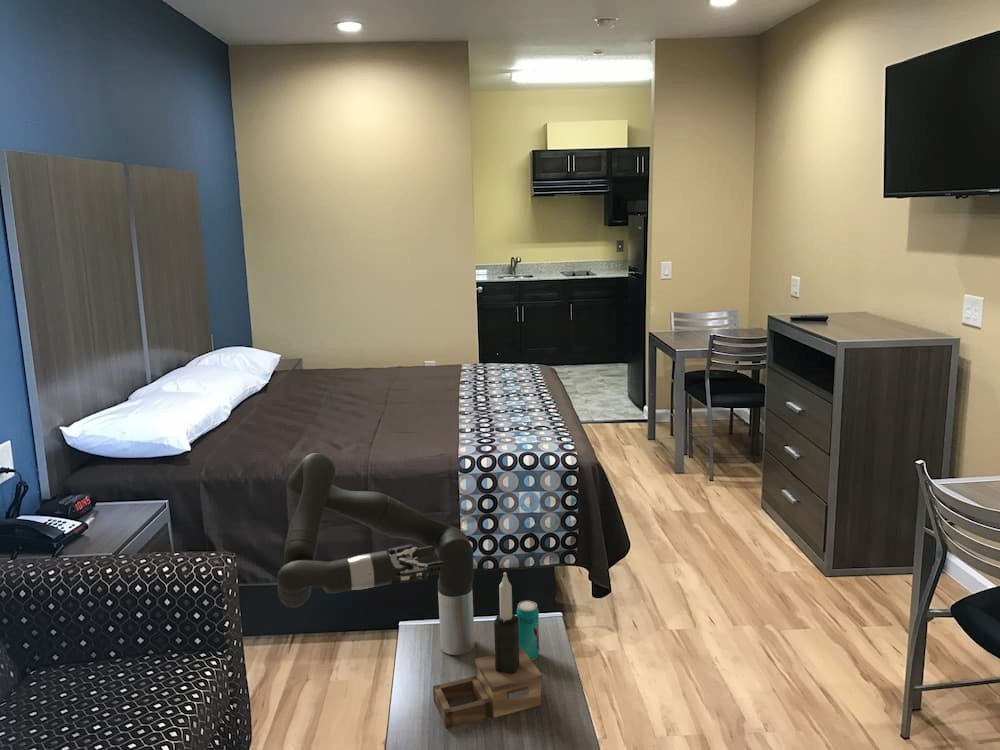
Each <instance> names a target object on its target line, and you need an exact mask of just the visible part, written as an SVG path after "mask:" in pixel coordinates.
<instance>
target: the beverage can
mask: <svg viewBox="0 0 1000 750" xmlns="http://www.w3.org/2000/svg"><path fill="white" fill-rule="evenodd" d="M539 612H540V611H539V608H538V604H537V602H535V601H532V600H523V601H520V602H519V603H518V604H517V608H516V616H518V624H519V648H523V649H524V651H525V652H526V654H527V655H528V656H529V658H530V659H531V660H532V662H534V661H536V659H537V658H538V655H539V653H540V628H539V627H540V625H539V623H540V622H539V621H540V620H539V616H540V614H539Z"/></svg>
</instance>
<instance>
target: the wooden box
mask: <svg viewBox="0 0 1000 750" xmlns="http://www.w3.org/2000/svg"><path fill="white" fill-rule="evenodd" d="M474 662H475V666H476V672H477V673H476V675H474V676H470V677H466V678H463V679H462V678H461V679H458V680H453V681H449V682H445V683H442V684H441V683H440V684H438V685H437V684H436V685H433V686H432V692H433V702H434V705H435V707H436V708H437V710H438V713H439V715H440V717H441V720H442V722H443V724H444V726H445V728H446V729H450V728H454V727H458V726H462V725H466V724H468V723H473V722H477V721H481V720H484V719H488V718H491V717H492V716H493V718H498V717H502V716H506V715H508V714H509V715H510V714H513V713H517V712H520V711H525V710H528V709H531V708H536V707H541V705H542V696H541V695H542V692H541V691H542V687H541V686H542V683H541V682H542V681H543V675H542V673H541V671H540V670H539V669H538V668H537V666H536V664H535V663H534V661H532V660H531V659H530V658H529V656H528V655H527V654H526V652H525V651H524V649H523V648H519V667H518V669H517V671H516V672H515V673H514V674H509V673H503V672H497V671H496V670H495V653H494V654H490V655H486V656H481V657H477V658H475V659H474ZM470 696H472V697H473V698H474V700H475V701H471V702H468V703H464V704H459V705H456V706H450V704H449V703H448V702H450V701H455V700H459V699H463V698H466V697H470Z"/></svg>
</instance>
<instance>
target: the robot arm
mask: <svg viewBox="0 0 1000 750" xmlns="http://www.w3.org/2000/svg"><path fill="white" fill-rule="evenodd" d="M335 467H336V466H335V464H334V462H333V461H332V459H331V458H330V457H328V456H327V455H325V454H323V453H319V452H313V453H309V454H308V455H306V456H305V457H304V458H303V459H302V460H301V461H300V463H299V464H297V466H296V467H295V469H294V471H293V472H292V473H291V474H290V476H289V477H288V482H287V483H288V484H287V485H288V487H289V490H290V491H291V493H293V494H294V495H295V497H297V498H298V499H299V502H298V504H297V507H296V509H295V512H294V514H293V516H292V519H291V521H290V525H289V528H288V532H287V534H286V535H287V536H286V540H285V544H284V545H285V546H284V550H283V559H284V561H283V566H281V568H280V569H279V570H278V572H277V577H276V579H277V581H276V582H277V593H278V598H279V600H280V602H281V603H282V604H283V605H285V606H286V607H288V608H290V609H292V608H298V607H301V606H302V605H304V604H306V602H307V601H308V600H309V598H310V596H311V593H312V588H315V587H317V588H319V587H320V588H322V589H323V591H324V592H325V593H327V594H337V593H338V594H339V593H342V592H349V591H354V590H358V591H359V590H364V589H369V588H375V587H380V586H381V587H382V586H385V585H386V586H387V585H390V584H392V583H393V579H394V578H400V583H401V584H409V583H415V582H421V581H426V580H428V576H429V574H434V573H438V575H439V576H438V580H437V596H438V598H437V599H438V617H439V636H440V638H439V639H440V649H441V651H442V652H443V653H445V654H446V655H452V656H462V655H465V654H468V653H470V652H472V651H473V649H474V648H475V632H474V631H475V626H474V621H475V619H474V599H473V596H474V595H473V582H474V576H475V575H474V567H475V566H474V549H473V546H472V544H471V542H470V540H469V538H468V536H467V535H466V533H465V532H464V531H463V530H461V529H459V528H458V527H455V526H452V525H450V524H446V523H444V522H441V521H439V520H436V519H433V518H431V517H428V516H426V515H424V513H421V512H419V510H416V509H414V508H412V507H411V506H408V505H406V504H405V503H402V502H401V501H399V500H397V499H395V498H393V497H392V496H389V495H387V494H385V493H382V492H379V491H378V492H377V491H368V490H367V491H365V490H357V491H356V490H348V489H343V488H340V487H338V486H336V485H333V482H334V479H335V476H336V468H335ZM324 509H325V510H329V511H332V512H335V513H337V514H340V515H342V516H344V517H347V518H349V519H351V520H353V521H356V522H357V523H360V524H362V525H364V526H366V527H367V528H369V529H371V530H374V531H376V532H378V533H381V534H383V535H385V536H387V537H391V538H397V539H403V540H410V541H414V542H416V543H419V544H421V545H423V546H422V547H417V546H413V545H414V544H411V543H410V544H405V545H400V546H395V547H389V548H388V550H385V549H384V550H379V551H374V552H369V553H364V554H363V553H362V554H358V555H354V556H351V557H347V558H342V559H341V558H340V559H336V560H332V561H325V560H315V559H316V553H317V549H318V548H317V547H318V541H319V534H320V530H321V523H322V519H323V514H324ZM435 554H436V556H437V559H438V561H432V562H427V563H425V562H424V563H422V562H419V560H416V559H418V558H419V559H421V558H426V557H431V556H434V555H435Z"/></svg>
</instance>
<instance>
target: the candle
mask: <svg viewBox="0 0 1000 750" xmlns="http://www.w3.org/2000/svg"><path fill="white" fill-rule="evenodd" d="M507 573H508V572H506V571H505V572H503V577H502V579H501V582H500V584H499V587H498V588H499V589H498V590H499V591H498V593H499V613H498V614H497V616H496V618H495V620H494V621H493V631H494V636H493V638H494V654H495V670H496V671H497V672H503V673H509V674H514V673H515V672H516V671H517V669H518V667H519V624H518V616H517V614H514V613H513V593H512V591H513V590H512V587H513V586H512V584H511V582H510V581H509V579H508V574H507Z"/></svg>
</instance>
